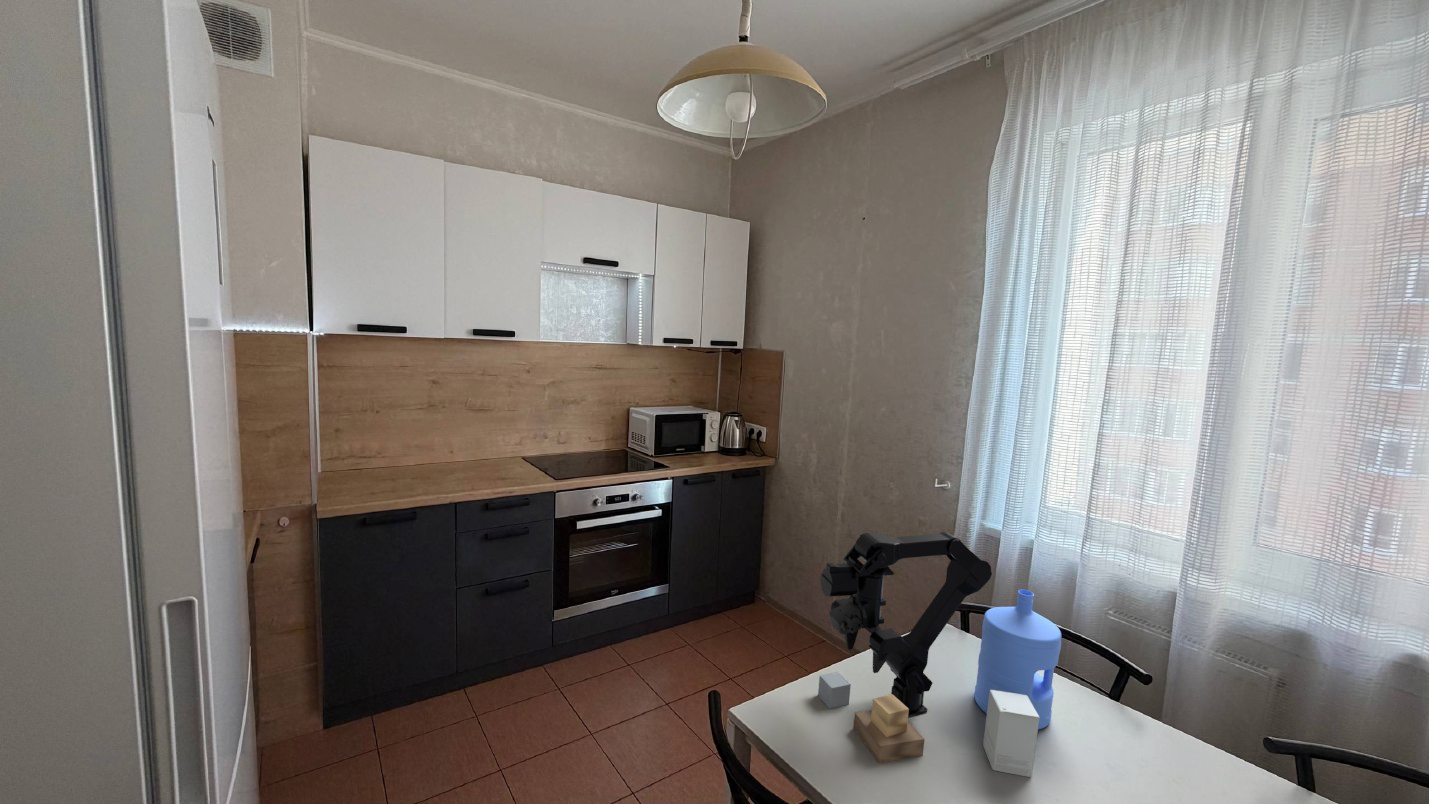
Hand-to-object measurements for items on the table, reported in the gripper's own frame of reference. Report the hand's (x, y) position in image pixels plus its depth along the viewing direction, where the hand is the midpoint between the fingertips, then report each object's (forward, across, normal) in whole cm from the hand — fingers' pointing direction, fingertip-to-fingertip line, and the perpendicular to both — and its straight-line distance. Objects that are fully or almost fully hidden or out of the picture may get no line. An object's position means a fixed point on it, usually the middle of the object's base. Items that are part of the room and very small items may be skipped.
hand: (862, 660), depth 126 cm
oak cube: (+8, +10, 0) cm, 13 cm away
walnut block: (+12, +10, 0) cm, 16 cm away
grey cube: (+12, -5, -3) cm, 13 cm away
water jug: (+12, +10, +35) cm, 38 cm away
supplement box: (+12, +22, +20) cm, 32 cm away
